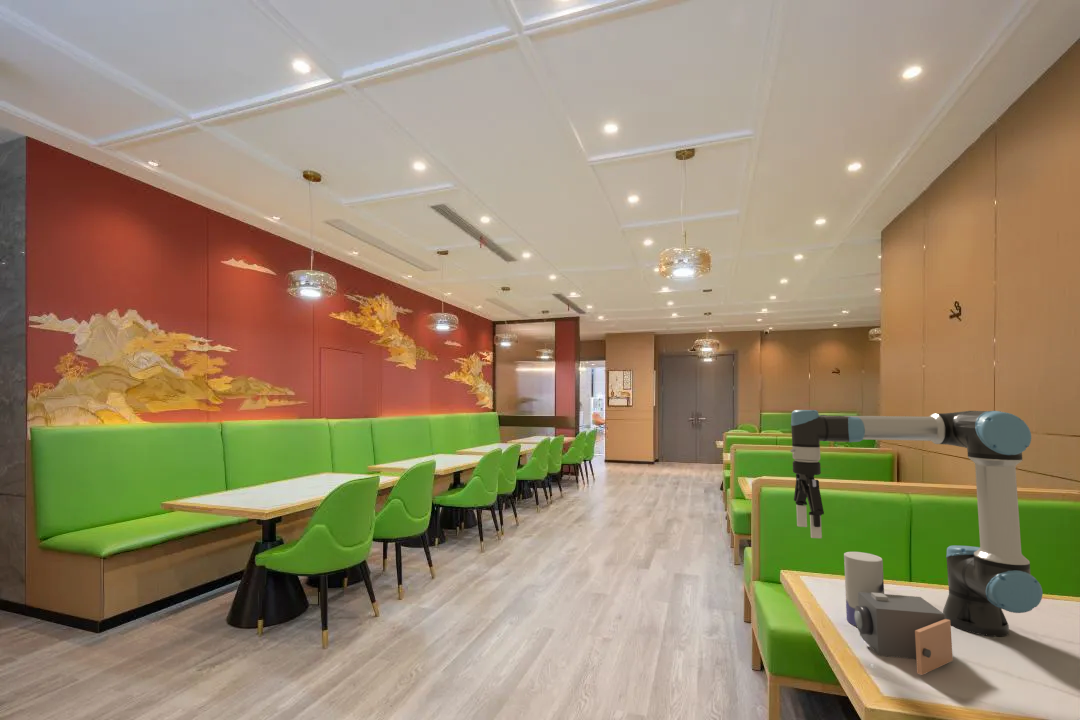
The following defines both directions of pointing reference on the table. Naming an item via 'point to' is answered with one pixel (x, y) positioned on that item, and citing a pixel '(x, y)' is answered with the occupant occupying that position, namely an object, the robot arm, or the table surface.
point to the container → (861, 578)
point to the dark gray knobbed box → (893, 622)
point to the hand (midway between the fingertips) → (808, 532)
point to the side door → (933, 646)
